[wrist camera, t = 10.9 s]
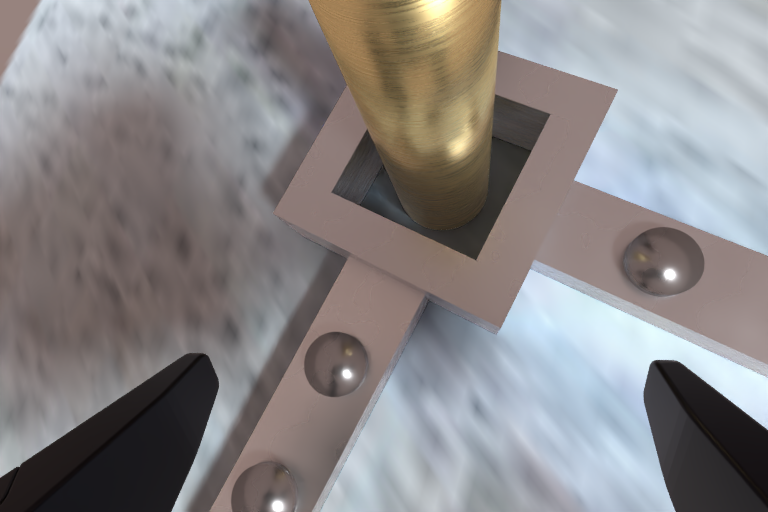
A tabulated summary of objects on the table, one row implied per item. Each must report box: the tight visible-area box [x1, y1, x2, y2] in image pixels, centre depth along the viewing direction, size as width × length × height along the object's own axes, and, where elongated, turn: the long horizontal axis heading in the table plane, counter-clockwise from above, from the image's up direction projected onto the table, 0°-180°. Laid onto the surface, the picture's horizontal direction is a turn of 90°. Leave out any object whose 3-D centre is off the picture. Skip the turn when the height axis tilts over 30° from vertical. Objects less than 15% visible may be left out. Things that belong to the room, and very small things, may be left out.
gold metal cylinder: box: [309, 0, 501, 230], centre depth 13 cm, size 4×4×12 cm
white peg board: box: [209, 51, 768, 512], centre depth 15 cm, size 21×21×3 cm
